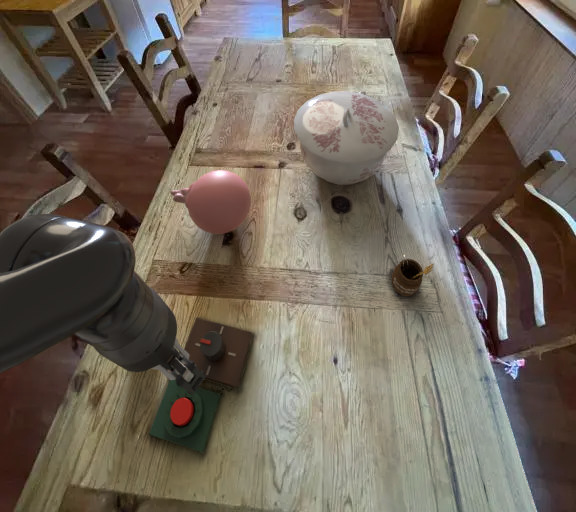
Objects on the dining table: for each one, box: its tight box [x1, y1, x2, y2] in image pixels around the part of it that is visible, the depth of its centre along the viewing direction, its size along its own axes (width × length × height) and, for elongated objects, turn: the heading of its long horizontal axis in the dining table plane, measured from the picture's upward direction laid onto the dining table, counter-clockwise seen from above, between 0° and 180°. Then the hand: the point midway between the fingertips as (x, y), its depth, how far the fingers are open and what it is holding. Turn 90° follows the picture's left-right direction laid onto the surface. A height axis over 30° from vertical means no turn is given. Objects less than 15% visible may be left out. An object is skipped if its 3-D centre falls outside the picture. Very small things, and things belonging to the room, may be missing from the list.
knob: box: [200, 331, 226, 362], centre depth 64 cm, size 4×4×5 cm
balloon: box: [170, 169, 252, 235], centre depth 85 cm, size 15×20×15 cm
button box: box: [148, 379, 222, 454], centre depth 60 cm, size 10×8×3 cm
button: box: [170, 398, 194, 426], centre depth 59 cm, size 4×4×2 cm
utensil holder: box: [390, 253, 435, 297], centre depth 72 cm, size 6×6×12 cm
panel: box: [183, 317, 254, 390], centre depth 67 cm, size 12×9×3 cm
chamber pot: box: [293, 89, 400, 186], centre depth 95 cm, size 28×28×21 cm
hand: (172, 358), depth 51 cm, fingers open, 8 cm apart
